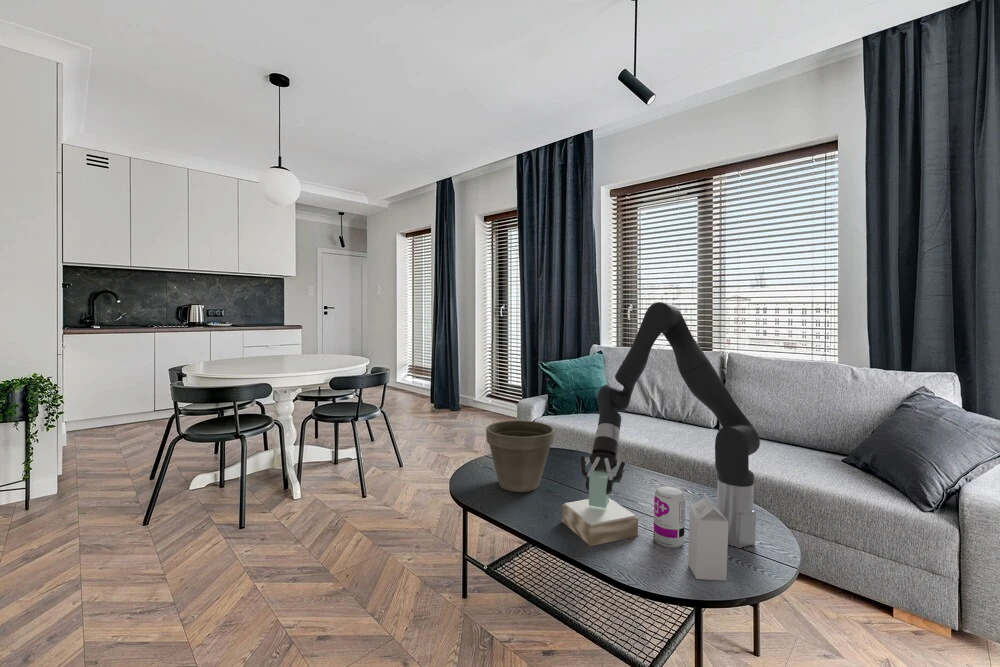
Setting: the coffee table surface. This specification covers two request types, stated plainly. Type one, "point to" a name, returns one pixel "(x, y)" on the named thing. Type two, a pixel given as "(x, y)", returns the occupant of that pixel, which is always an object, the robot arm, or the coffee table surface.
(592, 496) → the carton
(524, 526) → the coffee table surface
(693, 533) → the milk carton
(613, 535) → the podium
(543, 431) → the plant pot
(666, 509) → the supplement can
